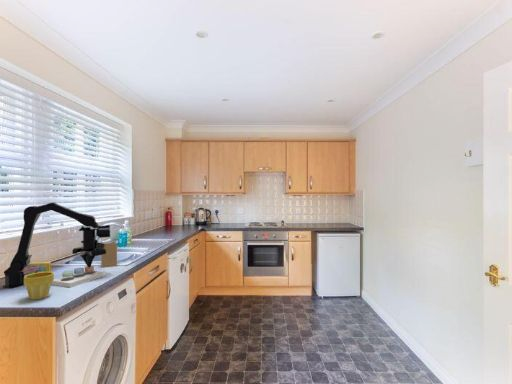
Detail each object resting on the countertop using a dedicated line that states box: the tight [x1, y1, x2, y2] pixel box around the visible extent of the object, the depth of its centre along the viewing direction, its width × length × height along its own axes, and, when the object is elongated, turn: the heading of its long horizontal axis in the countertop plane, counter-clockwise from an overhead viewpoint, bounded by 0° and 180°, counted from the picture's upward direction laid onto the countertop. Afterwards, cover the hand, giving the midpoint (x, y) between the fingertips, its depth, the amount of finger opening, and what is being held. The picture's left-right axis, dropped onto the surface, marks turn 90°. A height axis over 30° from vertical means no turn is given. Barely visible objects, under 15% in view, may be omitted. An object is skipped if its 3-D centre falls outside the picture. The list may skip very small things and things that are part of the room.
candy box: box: [22, 261, 52, 276], centre depth 148 cm, size 16×2×8 cm, turn 95°
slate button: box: [73, 267, 85, 274], centre depth 144 cm, size 4×4×2 cm
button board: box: [51, 270, 106, 288], centre depth 144 cm, size 20×14×2 cm
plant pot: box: [23, 271, 55, 301], centre depth 120 cm, size 10×10×10 cm
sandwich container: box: [100, 242, 118, 268], centre depth 176 cm, size 9×15×15 cm, turn 31°
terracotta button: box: [84, 265, 95, 272], centre depth 149 cm, size 4×4×2 cm
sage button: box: [61, 270, 74, 277], centre depth 138 cm, size 4×4×2 cm
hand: (89, 266), depth 149 cm, fingers closed, pressing on terracotta button
